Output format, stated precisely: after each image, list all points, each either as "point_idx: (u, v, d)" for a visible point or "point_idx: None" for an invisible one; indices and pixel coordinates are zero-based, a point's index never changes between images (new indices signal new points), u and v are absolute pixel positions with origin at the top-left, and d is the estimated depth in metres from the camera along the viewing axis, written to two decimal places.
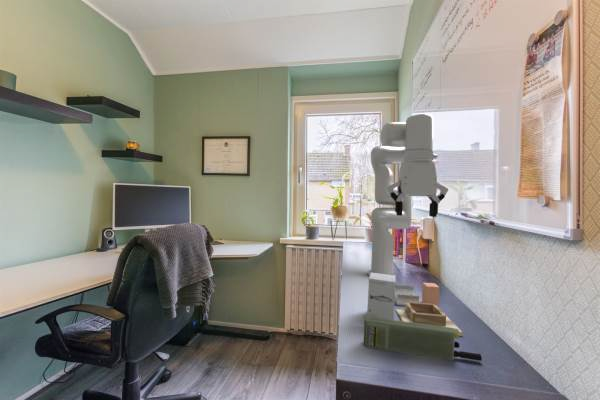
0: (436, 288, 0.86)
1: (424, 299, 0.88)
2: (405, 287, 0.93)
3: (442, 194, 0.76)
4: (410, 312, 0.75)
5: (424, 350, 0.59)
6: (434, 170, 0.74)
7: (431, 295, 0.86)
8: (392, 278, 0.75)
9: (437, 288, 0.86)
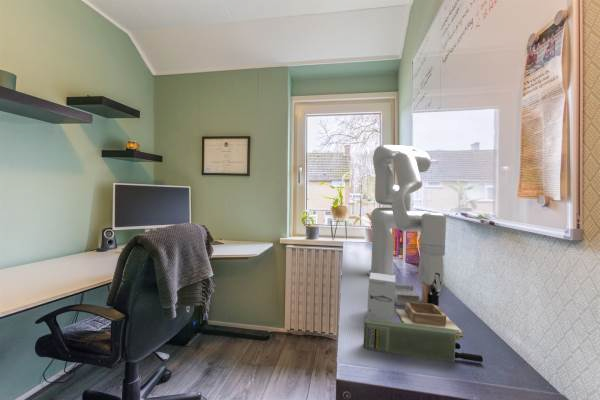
0: None
1: (424, 299, 0.88)
2: (405, 287, 0.93)
3: None
4: (410, 312, 0.75)
5: (424, 352, 0.58)
6: None
7: None
8: (392, 278, 0.75)
9: None
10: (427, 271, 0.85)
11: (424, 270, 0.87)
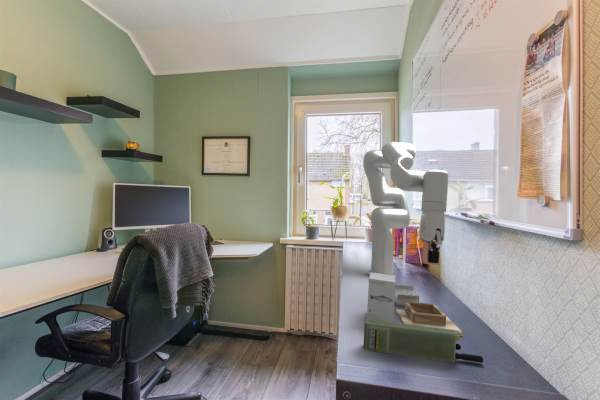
0: None
1: (425, 256, 0.88)
2: (405, 287, 0.93)
3: None
4: (410, 312, 0.75)
5: (425, 353, 0.58)
6: None
7: None
8: (392, 278, 0.75)
9: None
10: (428, 227, 0.85)
11: (425, 227, 0.87)
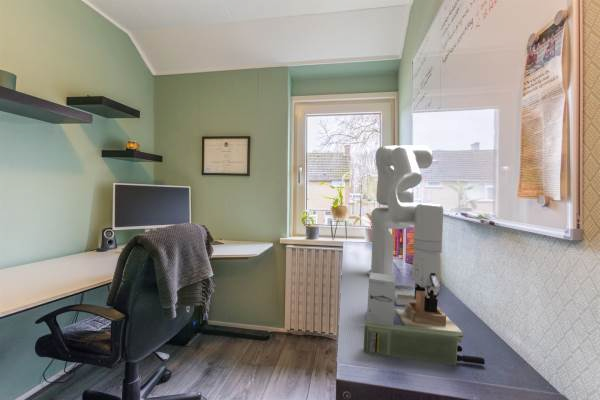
0: None
1: (418, 310, 0.76)
2: (405, 287, 0.93)
3: None
4: (410, 312, 0.75)
5: (426, 356, 0.57)
6: None
7: None
8: (392, 278, 0.75)
9: None
10: (421, 271, 0.73)
11: (418, 270, 0.75)
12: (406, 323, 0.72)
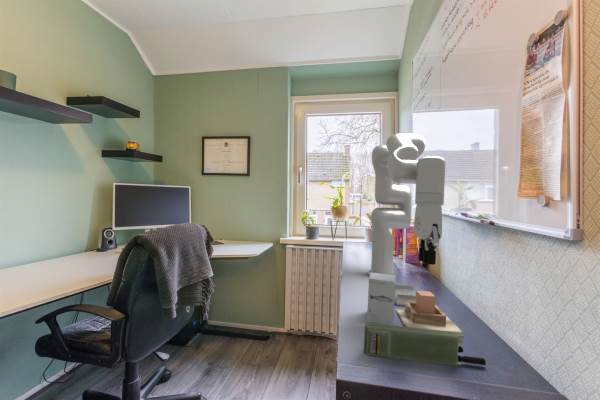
0: (431, 297, 0.74)
1: (418, 310, 0.76)
2: (405, 287, 0.93)
3: None
4: (410, 312, 0.75)
5: (427, 356, 0.56)
6: None
7: (426, 306, 0.74)
8: (392, 278, 0.75)
9: (433, 297, 0.74)
10: (423, 223, 0.73)
11: (420, 223, 0.75)
12: (406, 323, 0.72)
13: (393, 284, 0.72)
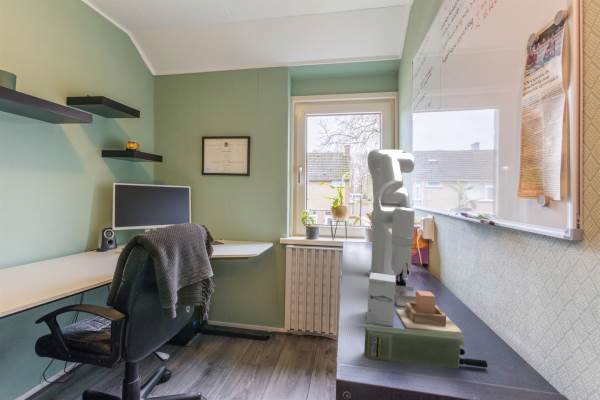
0: (431, 297, 0.74)
1: (418, 310, 0.76)
2: (406, 288, 0.92)
3: None
4: (410, 312, 0.75)
5: (428, 359, 0.56)
6: None
7: (426, 306, 0.74)
8: (392, 278, 0.75)
9: (433, 297, 0.74)
10: (397, 261, 0.92)
11: (394, 261, 0.94)
12: (406, 323, 0.72)
13: (393, 284, 0.72)
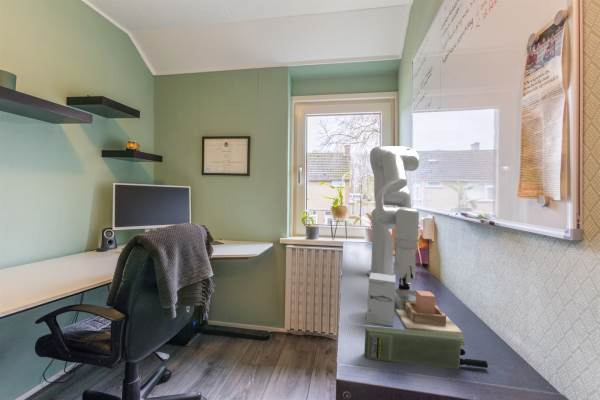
0: (431, 297, 0.74)
1: (418, 310, 0.76)
2: (409, 292, 0.88)
3: None
4: (410, 312, 0.75)
5: (429, 360, 0.55)
6: None
7: (426, 306, 0.74)
8: (392, 278, 0.75)
9: (433, 297, 0.74)
10: (400, 265, 0.88)
11: (398, 264, 0.90)
12: (406, 323, 0.72)
13: (393, 284, 0.72)
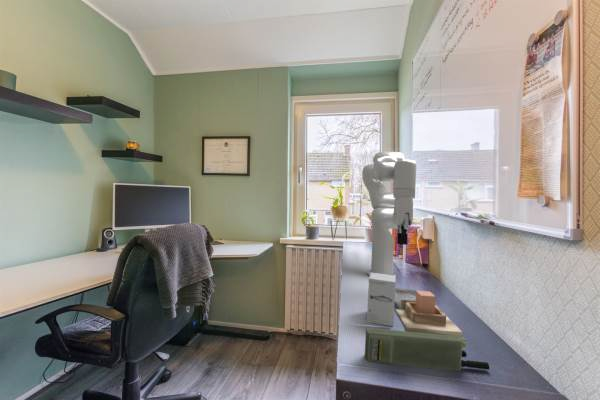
0: (431, 297, 0.74)
1: (418, 310, 0.76)
2: (409, 291, 0.88)
3: None
4: (410, 312, 0.75)
5: (430, 362, 0.55)
6: None
7: (426, 306, 0.74)
8: (392, 278, 0.75)
9: (433, 297, 0.74)
10: (398, 212, 0.92)
11: (396, 212, 0.95)
12: (406, 323, 0.72)
13: (393, 284, 0.72)
